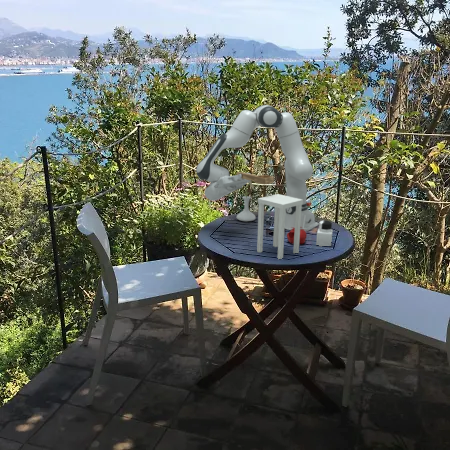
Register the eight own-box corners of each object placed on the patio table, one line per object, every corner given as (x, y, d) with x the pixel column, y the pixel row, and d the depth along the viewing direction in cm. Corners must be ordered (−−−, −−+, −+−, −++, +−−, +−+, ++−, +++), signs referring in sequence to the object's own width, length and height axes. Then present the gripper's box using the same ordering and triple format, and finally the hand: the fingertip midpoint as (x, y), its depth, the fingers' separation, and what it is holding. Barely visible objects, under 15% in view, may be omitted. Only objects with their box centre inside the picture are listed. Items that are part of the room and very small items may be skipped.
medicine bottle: (331, 242, 229) (333, 220, 225) (330, 247, 222) (332, 224, 219) (317, 241, 231) (318, 219, 227) (316, 246, 224) (317, 222, 221)
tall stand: (275, 245, 225) (277, 194, 217) (299, 253, 214) (303, 199, 207) (256, 251, 216) (258, 198, 208) (280, 260, 205) (283, 204, 198)
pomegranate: (304, 239, 234) (305, 222, 231) (307, 246, 224) (308, 228, 221) (285, 239, 234) (286, 222, 231) (287, 245, 224) (288, 227, 222)
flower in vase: (254, 223, 260) (256, 180, 252) (235, 222, 261) (235, 179, 254) (256, 217, 272) (258, 176, 265) (238, 216, 274) (238, 175, 266)
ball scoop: (242, 176, 227) (242, 170, 226) (273, 182, 213) (273, 176, 212) (233, 177, 223) (233, 172, 222) (264, 184, 208) (264, 178, 208)
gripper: (210, 181, 225) (226, 171, 215) (239, 176, 238) (256, 166, 228) (214, 193, 224) (231, 183, 214) (243, 187, 238) (260, 178, 228)
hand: (244, 174), depth 221 cm, fingers closed on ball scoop, 2 cm apart
